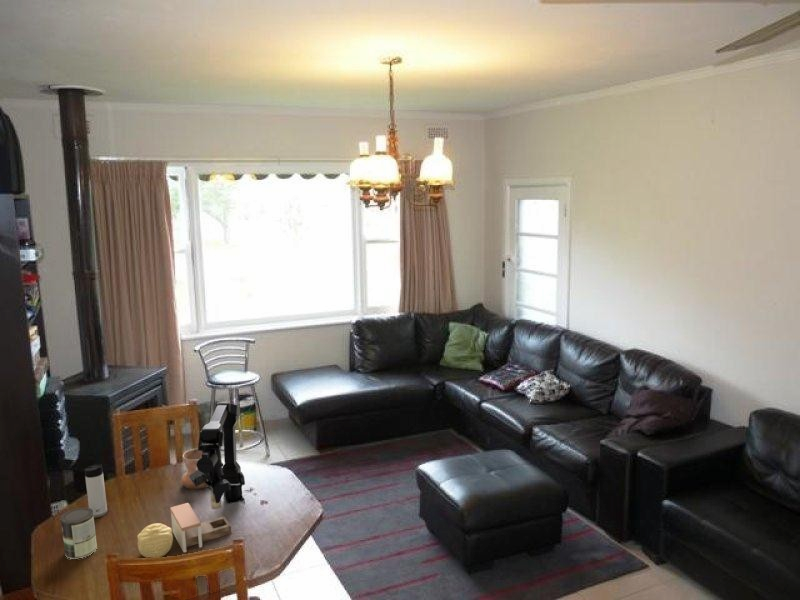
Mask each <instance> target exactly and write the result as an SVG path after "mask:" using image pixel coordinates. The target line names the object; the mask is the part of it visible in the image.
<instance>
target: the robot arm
mask: <svg viewBox="0 0 800 600" xmlns="http://www.w3.org/2000/svg"><path fill="white" fill-rule="evenodd" d="M240 413H241V409H240V407H239V405H237V404H232V403H231V402H228V401H219V402H217V403H216V404H215V409H214V412H213V414H212V417H211V419H210V421H209V422H208V423H207V424H205V425H203V427H202V428H201V430H200V431H199V437H198V447H197V448H198V451H202V456H201V457H200V459H199V460H198V462H197V468H198V470H197V471H195V472H194V473H192V474H191V475H190V476H189V477H190V479H191V481H192V483H193V484H194V486H195V487H197V486H199V485H201V484H202V483H204V482H205V483H206V484H207V485H209V486H208V489H209V492H210V491H212V493H213V494H214V497H215V501H216V503H219V502H220V500H221V501H222V497H223V499H224V500H225V501H226V503H227V504H233V503H235V502H238V501H242V500H244V499H245V498H244V497H243V486H244V485H246V479H245V474H243V472H242V471H241V469H242V468H241V465H240V464H239V462H238V461H237V448H236V424H237V423H238V421H239V418H240V415H241V414H240ZM222 447H223V454H224V455H223V456H224V459H223V462H224V463H223V462H222Z"/></svg>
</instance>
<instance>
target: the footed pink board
mask: <svg viewBox="0 0 800 600" xmlns="http://www.w3.org/2000/svg"><path fill="white" fill-rule="evenodd" d="M169 511H170V515H171V517H170V518H171V529H172V535H173V536H174V537H175V539H176V541H177V543H178V545H179V546H180V549H181V550H182V552H183V553H187V547H186V539H185V530H188V529H192V528H195V527H197V531H198V548H202V547H203V542H202V536H201V523H202V522H201V521H200V519H199V518H198V515H197V514H196V513H195V511H194V510H193V508H192V506H191V504H190V503H189V502H185V503H182V504H178V505H174V506H171V507H170V509H169Z"/></svg>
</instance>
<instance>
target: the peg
mask: <svg viewBox="0 0 800 600" xmlns="http://www.w3.org/2000/svg"><path fill="white" fill-rule="evenodd" d="M209 492H210V505H211V506H210V509H212V510H219V509H221V508H222V505H223V504H222V499H221V500H220V502H219V503H216V501H215V497H214V494H213V493H212V491H210V490H209Z"/></svg>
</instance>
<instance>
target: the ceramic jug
mask: <svg viewBox="0 0 800 600" xmlns="http://www.w3.org/2000/svg"><path fill="white" fill-rule="evenodd" d="M201 456H202V451H198V447H197V448H191V449H188V450H187V451H184V453H183V454H182V459H183V463H184V465H185V468H186V469H187V471H186V472H184V474H183V475H182V477H181V483H182V485H183V486H184V487H185V488H187V489H192V490H200V489H204V488H207V487H208V488H209V485H207V484H206V483H205V482H204V483H202V484H201V485H199V486H197V487H195V486H194V484H193V483H192V481H191V479H190V477H189V476H190V475H191V474H192V473H194V472H195V471H197V470H198V468H197V462H198V460H199V459H200V457H201Z"/></svg>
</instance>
